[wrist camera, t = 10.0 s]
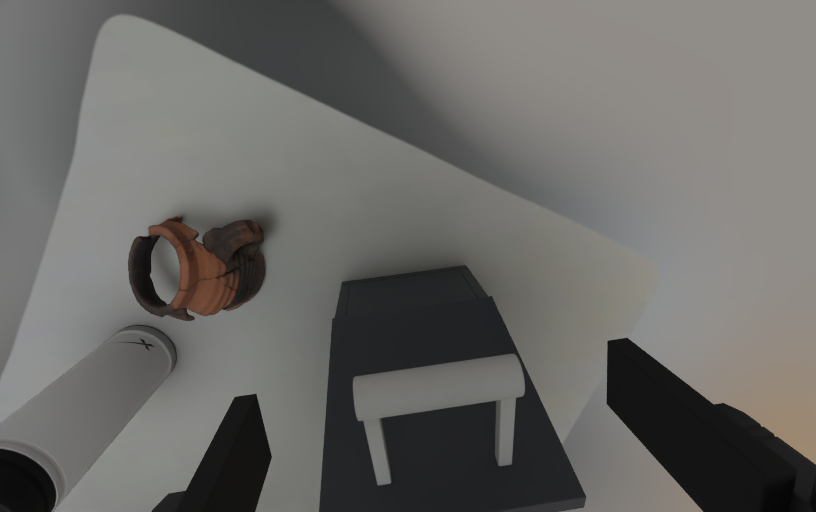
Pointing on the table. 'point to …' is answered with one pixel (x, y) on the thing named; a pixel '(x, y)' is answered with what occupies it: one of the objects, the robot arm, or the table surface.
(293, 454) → the table surface
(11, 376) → the table surface
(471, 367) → the hinged box lid
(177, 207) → the table surface
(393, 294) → the open box
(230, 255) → the pottery mug
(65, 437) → the travel mug
